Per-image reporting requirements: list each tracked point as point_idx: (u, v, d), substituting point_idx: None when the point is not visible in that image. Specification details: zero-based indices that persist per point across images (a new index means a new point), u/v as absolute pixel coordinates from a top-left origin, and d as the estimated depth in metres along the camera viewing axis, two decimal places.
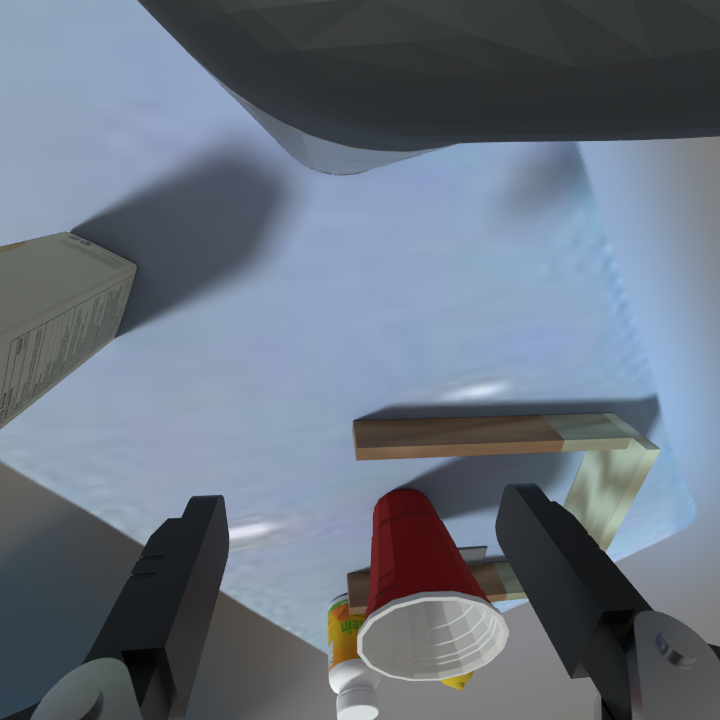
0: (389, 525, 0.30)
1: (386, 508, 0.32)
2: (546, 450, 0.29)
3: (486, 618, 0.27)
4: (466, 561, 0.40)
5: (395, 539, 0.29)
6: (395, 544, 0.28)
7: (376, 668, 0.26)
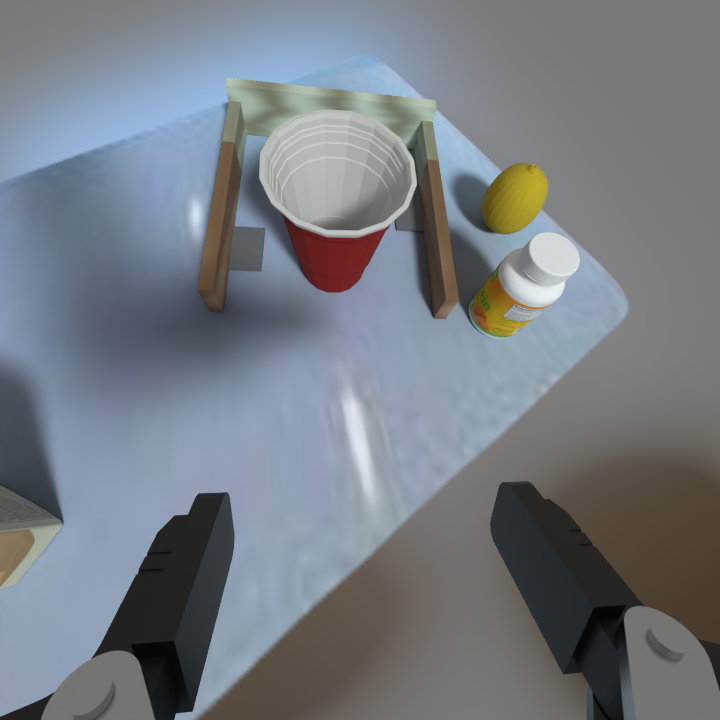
0: (300, 259, 0.30)
1: (306, 273, 0.32)
2: (231, 151, 0.34)
3: (339, 138, 0.27)
4: (413, 208, 0.39)
5: (294, 244, 0.28)
6: (293, 241, 0.28)
7: (391, 217, 0.23)
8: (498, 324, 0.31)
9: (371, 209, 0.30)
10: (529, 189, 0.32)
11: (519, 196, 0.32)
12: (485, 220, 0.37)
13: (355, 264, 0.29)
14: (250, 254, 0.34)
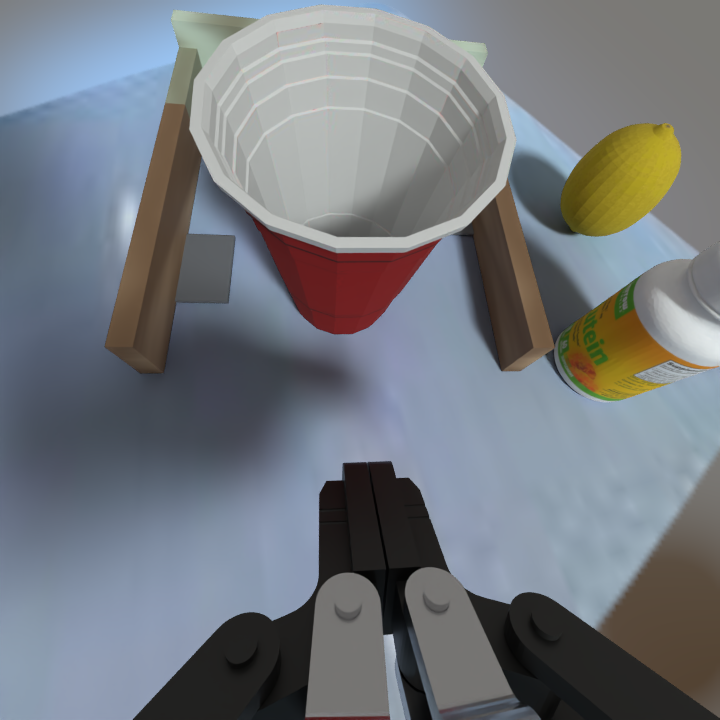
0: (287, 287, 0.17)
1: (299, 307, 0.20)
2: (178, 117, 0.22)
3: (352, 68, 0.15)
4: None
5: (275, 263, 0.16)
6: (273, 258, 0.16)
7: (473, 207, 0.11)
8: (618, 385, 0.19)
9: (405, 200, 0.18)
10: (658, 163, 0.20)
11: (639, 175, 0.20)
12: (568, 216, 0.24)
13: (384, 295, 0.16)
14: (211, 277, 0.22)
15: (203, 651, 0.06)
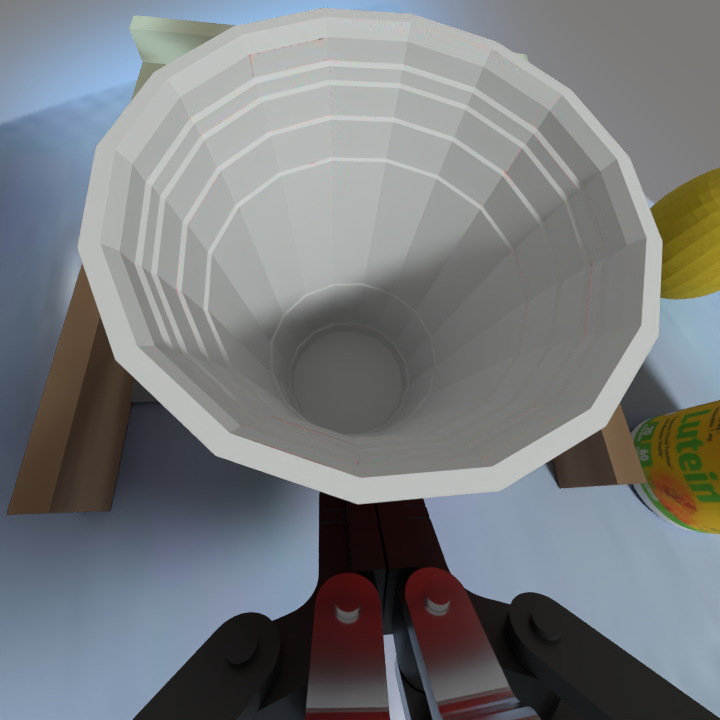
0: None
1: None
2: None
3: (371, 104, 0.09)
4: None
5: None
6: None
7: (610, 387, 0.06)
8: None
9: (440, 277, 0.13)
10: None
11: None
12: None
13: None
14: None
15: (202, 651, 0.06)
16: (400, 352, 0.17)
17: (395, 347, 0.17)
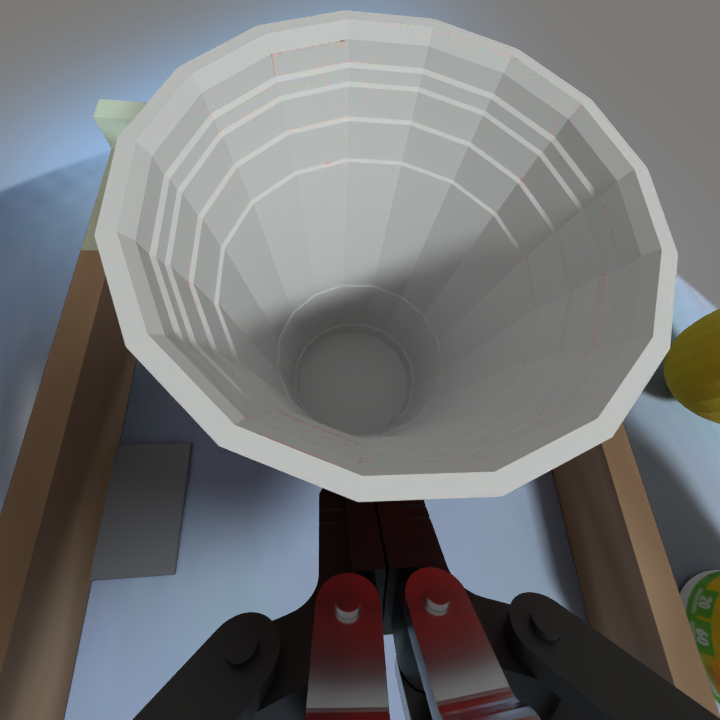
0: None
1: None
2: (100, 276, 0.14)
3: (389, 107, 0.10)
4: None
5: None
6: None
7: (618, 398, 0.06)
8: None
9: (450, 282, 0.13)
10: None
11: None
12: (682, 396, 0.17)
13: None
14: (150, 526, 0.14)
15: (203, 651, 0.06)
16: (407, 356, 0.17)
17: (402, 350, 0.17)
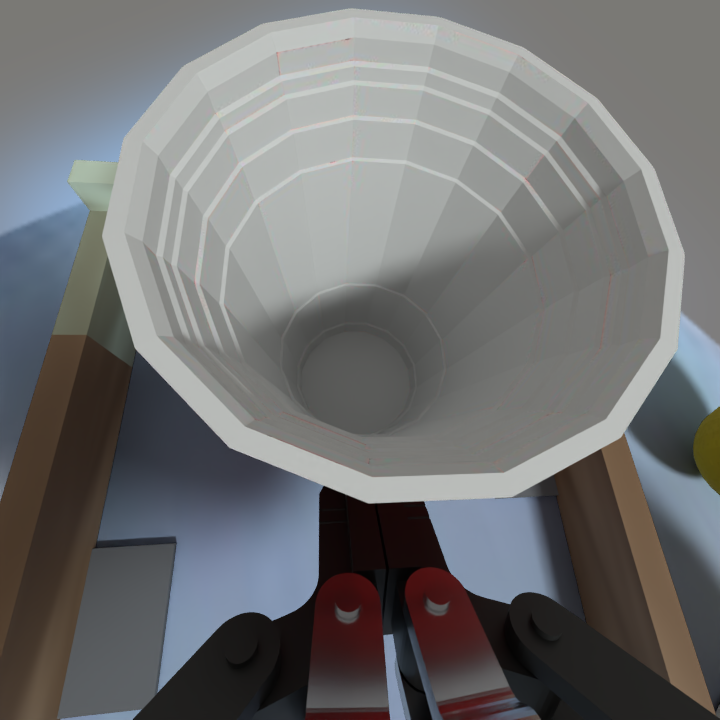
0: None
1: None
2: (72, 367, 0.13)
3: (394, 106, 0.09)
4: None
5: None
6: None
7: (626, 398, 0.06)
8: None
9: (454, 281, 0.13)
10: None
11: None
12: (716, 485, 0.15)
13: None
14: (128, 648, 0.12)
15: (203, 651, 0.06)
16: (409, 354, 0.17)
17: (404, 349, 0.17)
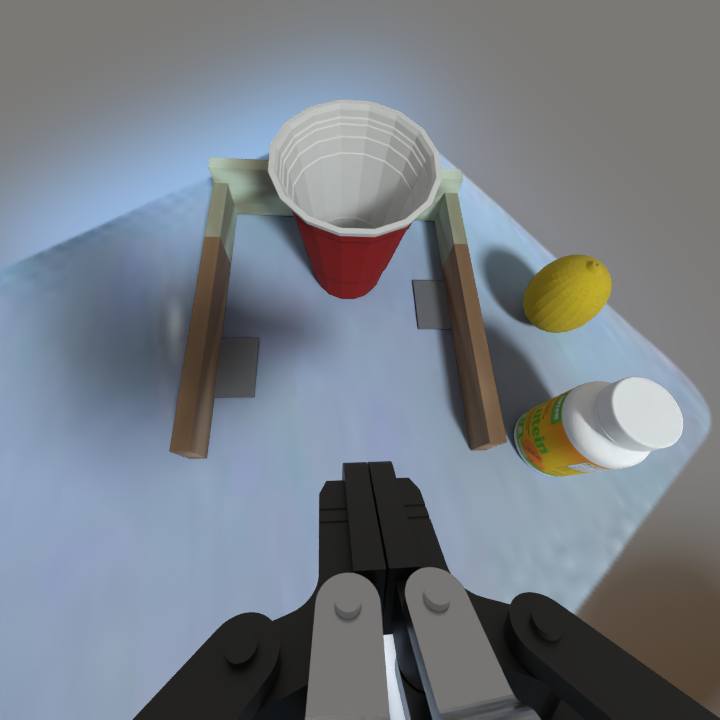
0: (312, 262, 0.28)
1: (319, 277, 0.30)
2: (215, 249, 0.28)
3: (356, 131, 0.25)
4: (437, 298, 0.32)
5: (306, 245, 0.26)
6: (305, 242, 0.26)
7: (412, 215, 0.21)
8: (558, 469, 0.24)
9: (390, 209, 0.28)
10: (590, 292, 0.25)
11: (577, 300, 0.26)
12: (528, 317, 0.30)
13: (371, 268, 0.26)
14: (241, 375, 0.28)
15: (203, 651, 0.06)
16: None
17: None
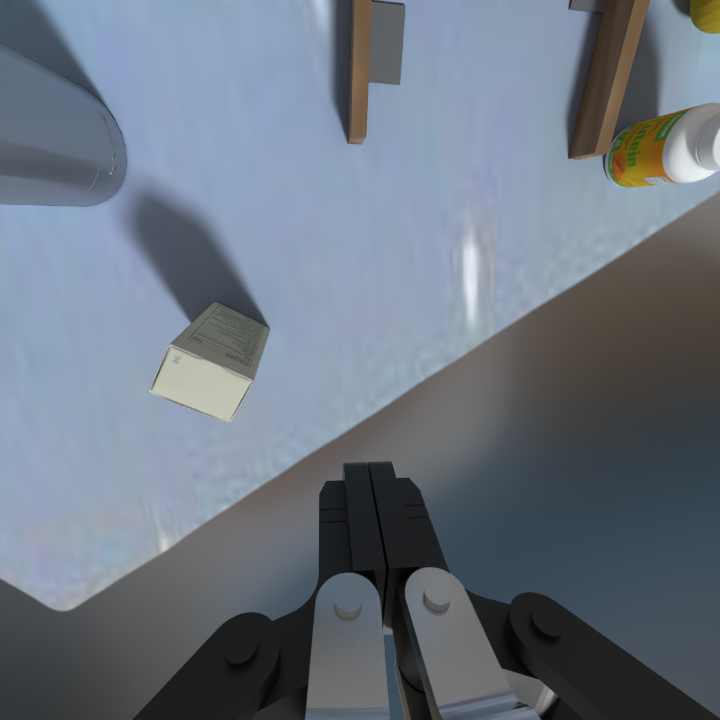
0: None
1: None
2: None
3: None
4: None
5: None
6: None
7: None
8: (632, 181, 0.32)
9: None
10: None
11: None
12: (692, 6, 0.28)
13: None
14: (388, 56, 0.29)
15: (203, 651, 0.06)
16: None
17: None
